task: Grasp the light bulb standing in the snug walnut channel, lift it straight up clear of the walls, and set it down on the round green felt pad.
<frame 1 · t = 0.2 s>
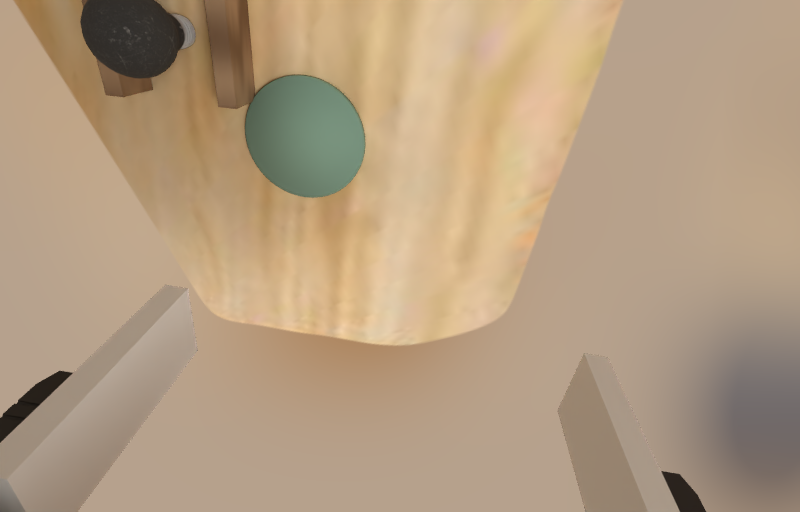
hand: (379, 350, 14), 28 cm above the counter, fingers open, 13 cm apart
pad: (306, 139, 39), on the counter
light bulb: (187, 31, 36), on the counter
pair of wooden planks: (186, 31, 35), on the counter
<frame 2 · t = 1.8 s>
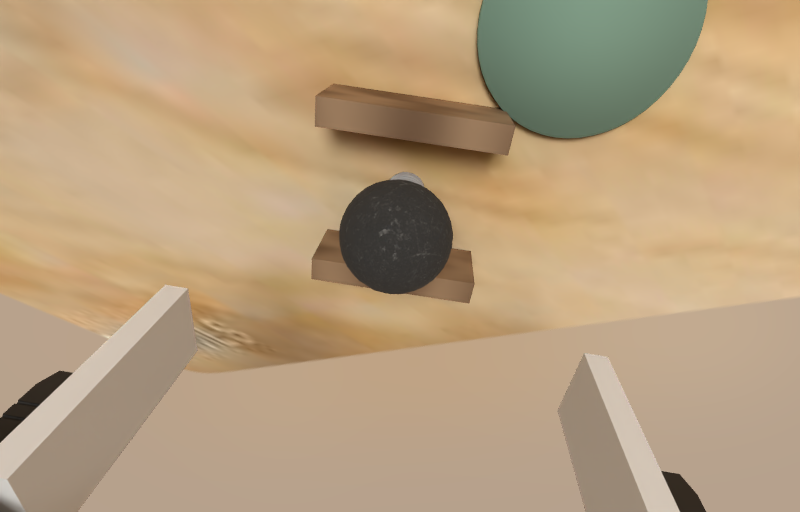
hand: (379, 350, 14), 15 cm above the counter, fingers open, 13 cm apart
pad: (584, 28, 22), on the counter
light bulb: (406, 184, 27), on the counter
pair of wooden planks: (406, 186, 27), on the counter
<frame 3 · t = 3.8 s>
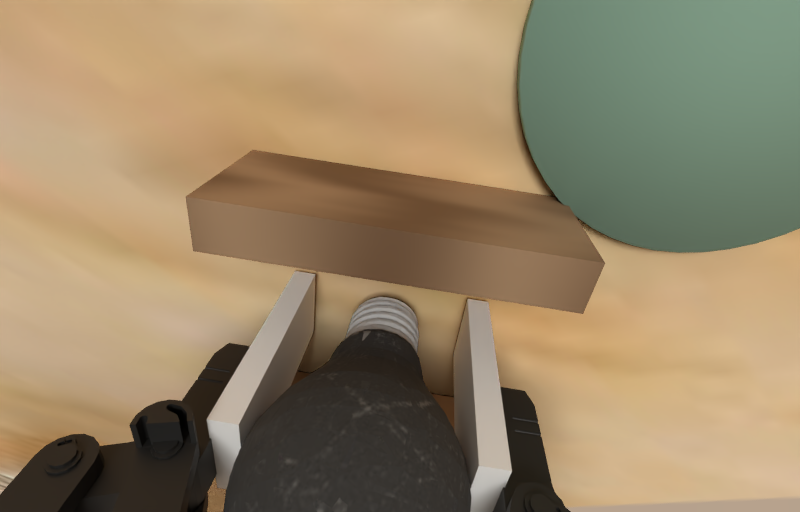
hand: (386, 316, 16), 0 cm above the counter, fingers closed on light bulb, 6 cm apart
pad: (735, 56, 11), on the counter
light bulb: (388, 307, 16), on the counter, touching gripper
pair of wooden planks: (387, 311, 16), on the counter
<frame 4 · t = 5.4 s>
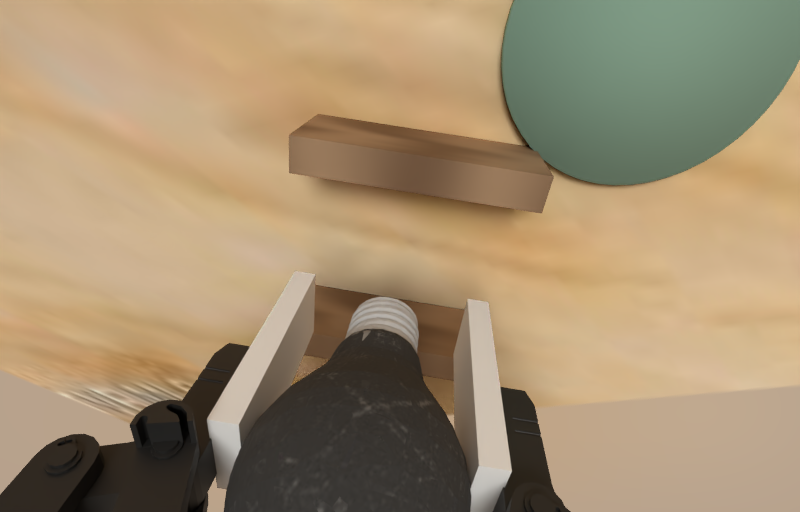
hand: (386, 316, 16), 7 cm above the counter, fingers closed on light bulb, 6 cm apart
pad: (643, 47, 17), on the counter
light bulb: (388, 307, 16), point 6 cm above the counter, touching gripper
pair of wooden planks: (409, 237, 22), on the counter
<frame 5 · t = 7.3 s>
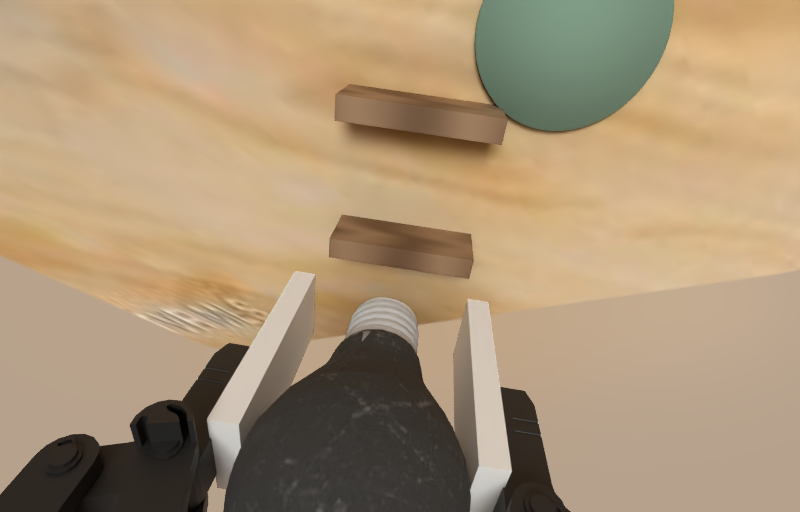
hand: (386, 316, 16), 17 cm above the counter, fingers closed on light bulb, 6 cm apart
pad: (568, 35, 25), on the counter
light bulb: (388, 307, 16), point 16 cm above the counter, touching gripper
pair of wooden planks: (413, 174, 31), on the counter
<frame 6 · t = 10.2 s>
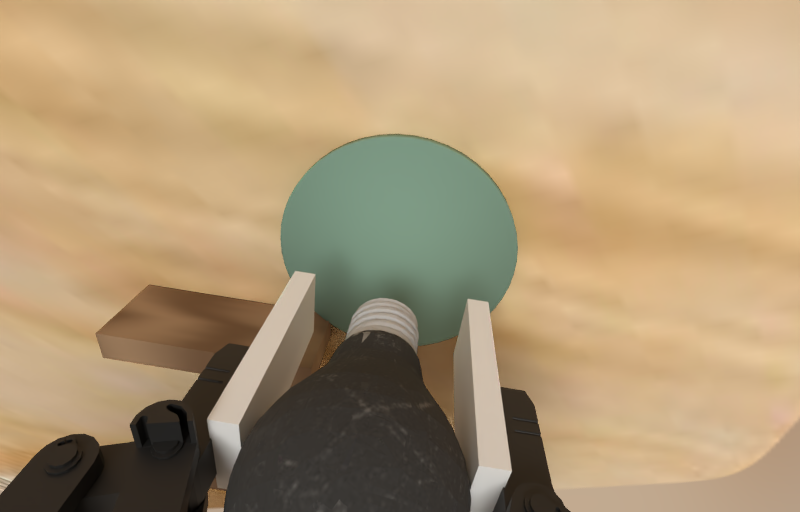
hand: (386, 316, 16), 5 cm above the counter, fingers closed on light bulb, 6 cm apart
pad: (397, 250, 20), on the counter
light bulb: (388, 308, 16), point 5 cm above the counter, touching gripper
pair of wooden planks: (245, 372, 25), on the counter
when the fingers open (2 cm above the counter, at t = 11.2 s): light bulb drops 1 cm, resting on pad.
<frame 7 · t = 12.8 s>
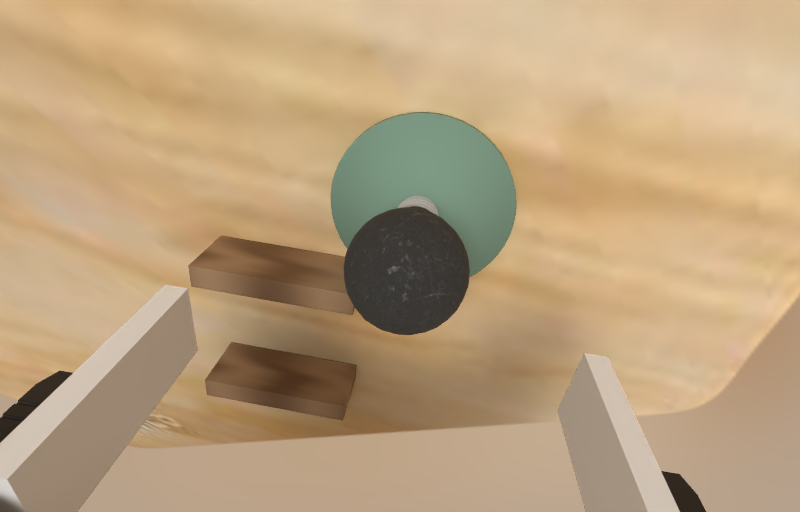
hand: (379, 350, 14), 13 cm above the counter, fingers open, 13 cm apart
pad: (421, 206, 26), on the counter
light bulb: (419, 208, 25), resting on pad
pair of wooden planks: (293, 313, 31), on the counter
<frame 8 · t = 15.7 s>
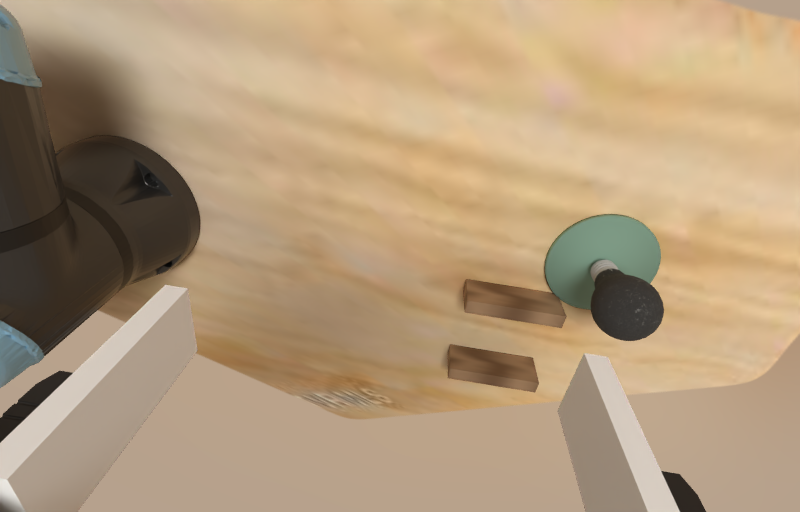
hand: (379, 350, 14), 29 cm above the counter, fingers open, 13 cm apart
pad: (600, 263, 44), on the counter
light bulb: (599, 264, 43), resting on pad
pair of wooden planks: (499, 325, 49), on the counter
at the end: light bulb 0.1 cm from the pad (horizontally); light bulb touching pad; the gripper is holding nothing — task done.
